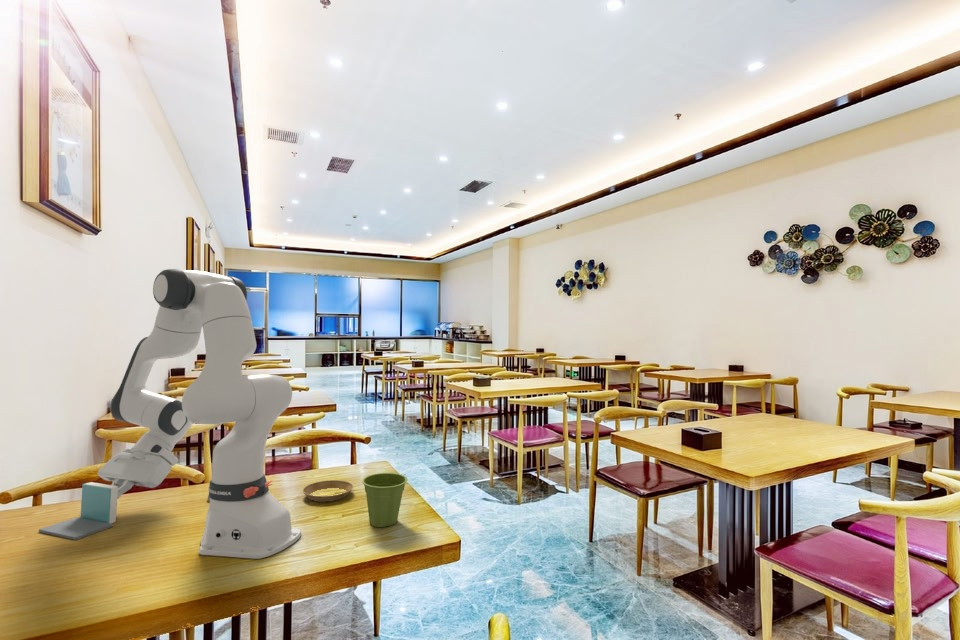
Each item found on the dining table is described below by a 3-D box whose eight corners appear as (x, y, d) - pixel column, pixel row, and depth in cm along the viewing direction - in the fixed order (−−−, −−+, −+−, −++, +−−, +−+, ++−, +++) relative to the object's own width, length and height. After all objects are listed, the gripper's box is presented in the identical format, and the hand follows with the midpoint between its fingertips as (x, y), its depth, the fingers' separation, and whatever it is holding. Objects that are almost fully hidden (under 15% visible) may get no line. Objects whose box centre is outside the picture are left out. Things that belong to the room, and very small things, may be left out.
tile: (115, 521, 115) (117, 486, 116) (107, 524, 113) (109, 488, 114) (89, 516, 118) (91, 482, 119) (80, 519, 116) (82, 484, 117)
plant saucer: (361, 490, 143) (361, 482, 143) (336, 507, 128) (337, 498, 128) (320, 486, 146) (320, 478, 146) (291, 502, 132) (292, 493, 132)
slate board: (112, 526, 112) (112, 524, 112) (75, 540, 104) (75, 537, 105) (76, 519, 116) (77, 517, 116) (38, 531, 108) (38, 529, 108)
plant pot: (359, 533, 111) (360, 487, 111) (362, 514, 123) (363, 473, 123) (407, 530, 113) (408, 485, 114) (405, 512, 125) (406, 471, 125)
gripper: (116, 442, 130) (75, 487, 120) (168, 449, 123) (130, 496, 114) (131, 454, 134) (93, 498, 124) (183, 461, 128) (146, 508, 118)
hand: (111, 497), depth 119 cm, fingers closed
